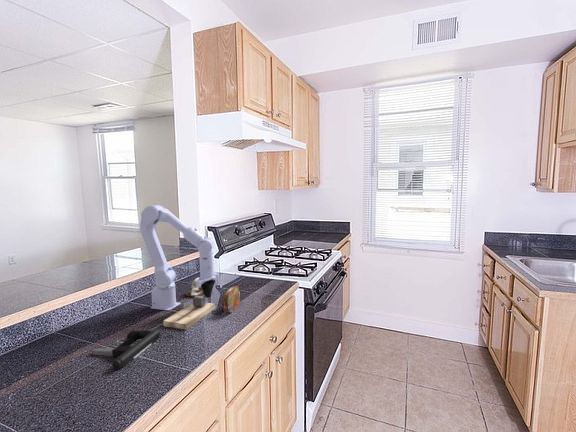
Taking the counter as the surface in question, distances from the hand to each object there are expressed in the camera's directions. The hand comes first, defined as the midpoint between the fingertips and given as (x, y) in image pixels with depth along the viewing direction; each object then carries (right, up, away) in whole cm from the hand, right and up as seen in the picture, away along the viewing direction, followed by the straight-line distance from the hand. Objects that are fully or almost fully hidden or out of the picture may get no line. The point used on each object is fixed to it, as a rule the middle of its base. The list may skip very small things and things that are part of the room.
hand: (208, 297), depth 134 cm
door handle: (-18, -8, -36) cm, 41 cm away
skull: (-8, -2, +14) cm, 17 cm away
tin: (+11, -4, -4) cm, 12 cm away
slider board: (-4, -5, -12) cm, 13 cm away
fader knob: (-2, -2, -6) cm, 7 cm away
